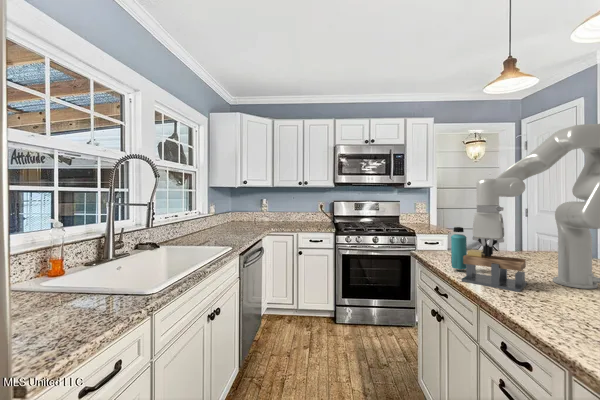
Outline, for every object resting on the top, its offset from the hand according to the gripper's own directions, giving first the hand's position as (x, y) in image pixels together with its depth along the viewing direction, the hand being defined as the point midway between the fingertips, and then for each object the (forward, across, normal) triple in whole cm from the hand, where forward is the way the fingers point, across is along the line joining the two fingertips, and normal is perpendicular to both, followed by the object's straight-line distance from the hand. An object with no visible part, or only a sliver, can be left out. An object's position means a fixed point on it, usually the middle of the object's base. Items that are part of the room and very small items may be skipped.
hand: (488, 255), depth 117 cm
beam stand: (+10, -2, 0) cm, 11 cm away
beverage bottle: (+11, +14, -10) cm, 20 cm away
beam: (+3, -2, 0) cm, 4 cm away
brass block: (+2, +4, 0) cm, 4 cm away
